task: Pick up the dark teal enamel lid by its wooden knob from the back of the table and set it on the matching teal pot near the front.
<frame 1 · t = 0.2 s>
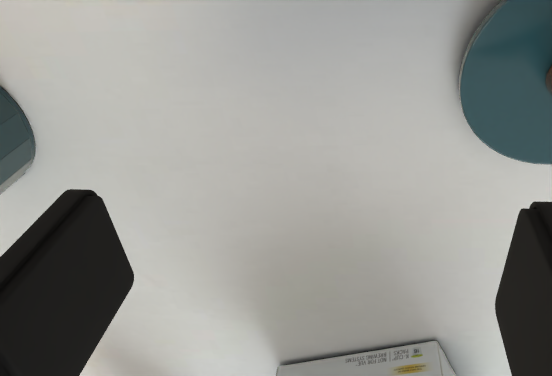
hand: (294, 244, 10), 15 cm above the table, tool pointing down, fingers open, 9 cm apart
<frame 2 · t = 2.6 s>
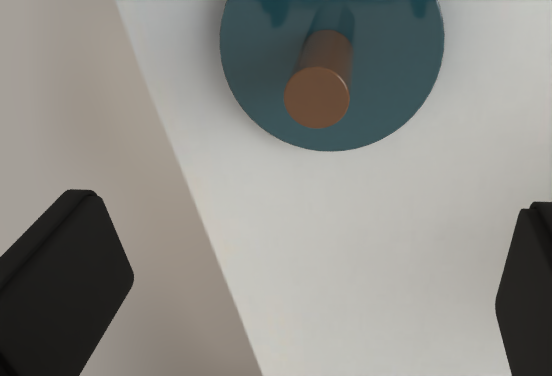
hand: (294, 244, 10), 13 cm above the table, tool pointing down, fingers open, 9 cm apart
lid: (327, 52, 20), point 1 cm above the table
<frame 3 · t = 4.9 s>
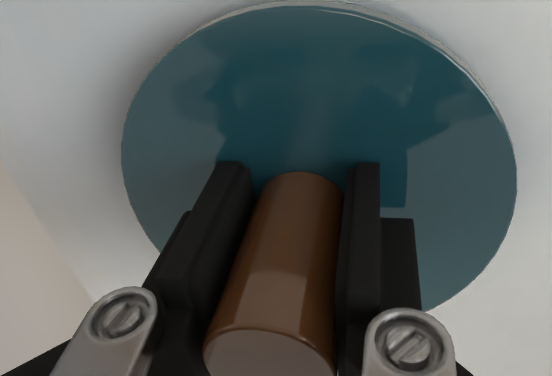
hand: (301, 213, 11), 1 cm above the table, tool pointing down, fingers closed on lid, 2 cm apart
lid: (306, 195, 11), point 1 cm above the table, touching gripper
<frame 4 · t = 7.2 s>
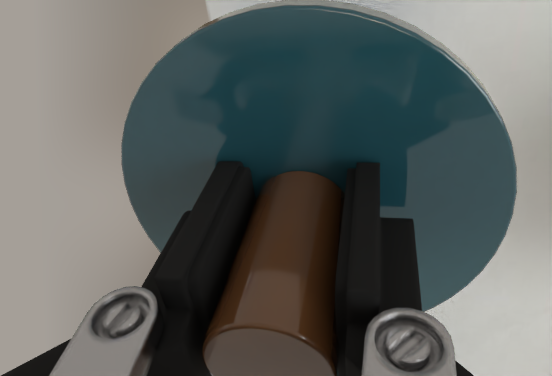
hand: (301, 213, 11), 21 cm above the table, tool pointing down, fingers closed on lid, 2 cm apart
lid: (306, 194, 12), point 20 cm above the table, touching gripper
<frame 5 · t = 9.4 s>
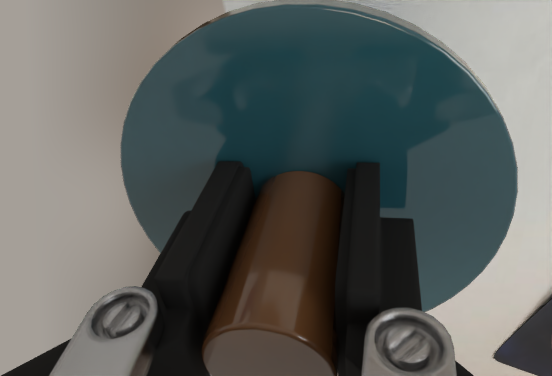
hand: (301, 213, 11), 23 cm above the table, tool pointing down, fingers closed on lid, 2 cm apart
lid: (306, 194, 11), point 23 cm above the table, touching gripper
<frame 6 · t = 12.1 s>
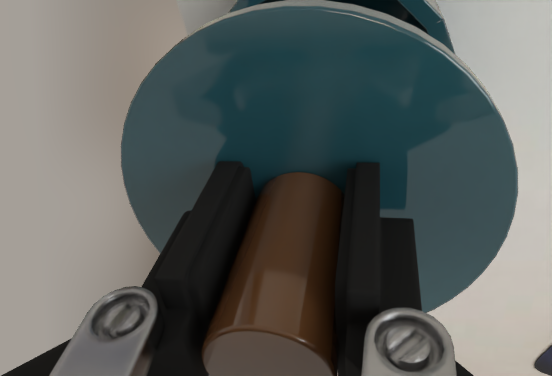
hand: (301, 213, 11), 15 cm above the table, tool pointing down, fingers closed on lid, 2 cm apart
pot: (341, 30, 23), on the table
lid: (306, 195, 11), point 15 cm above the table, touching gripper
when the fingers open (9 cm above the table, at t = 13.9 s): lid stays where it is, resting on pot.
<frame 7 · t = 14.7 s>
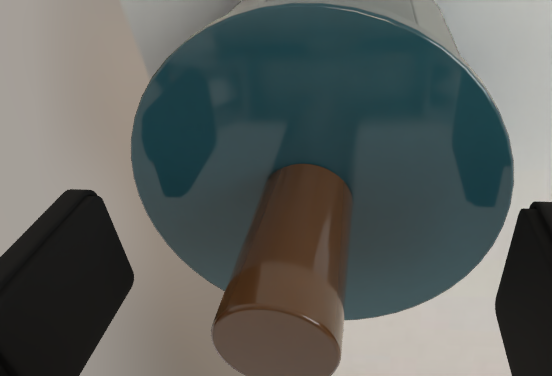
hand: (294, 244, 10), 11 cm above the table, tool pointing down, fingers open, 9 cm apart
pot: (334, 73, 19), on the table
lid: (310, 187, 12), point 8 cm above the table, touching pot
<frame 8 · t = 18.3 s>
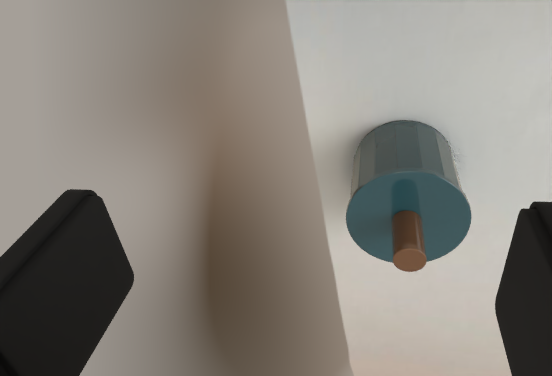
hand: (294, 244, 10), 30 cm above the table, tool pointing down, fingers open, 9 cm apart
pot: (401, 162, 43), on the table
lid: (406, 216, 36), point 8 cm above the table, touching pot
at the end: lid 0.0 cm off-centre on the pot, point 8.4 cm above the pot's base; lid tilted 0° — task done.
